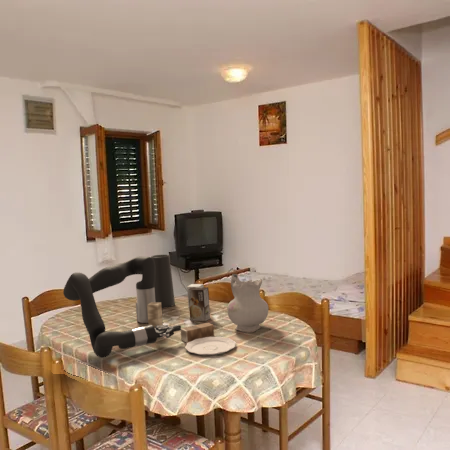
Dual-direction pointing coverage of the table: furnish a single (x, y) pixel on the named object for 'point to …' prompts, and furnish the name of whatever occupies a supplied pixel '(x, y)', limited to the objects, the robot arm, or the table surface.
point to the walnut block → (197, 332)
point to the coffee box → (199, 303)
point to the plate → (210, 345)
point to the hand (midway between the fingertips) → (180, 327)
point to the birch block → (154, 313)
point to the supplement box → (193, 286)
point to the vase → (163, 281)
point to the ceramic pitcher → (247, 305)
